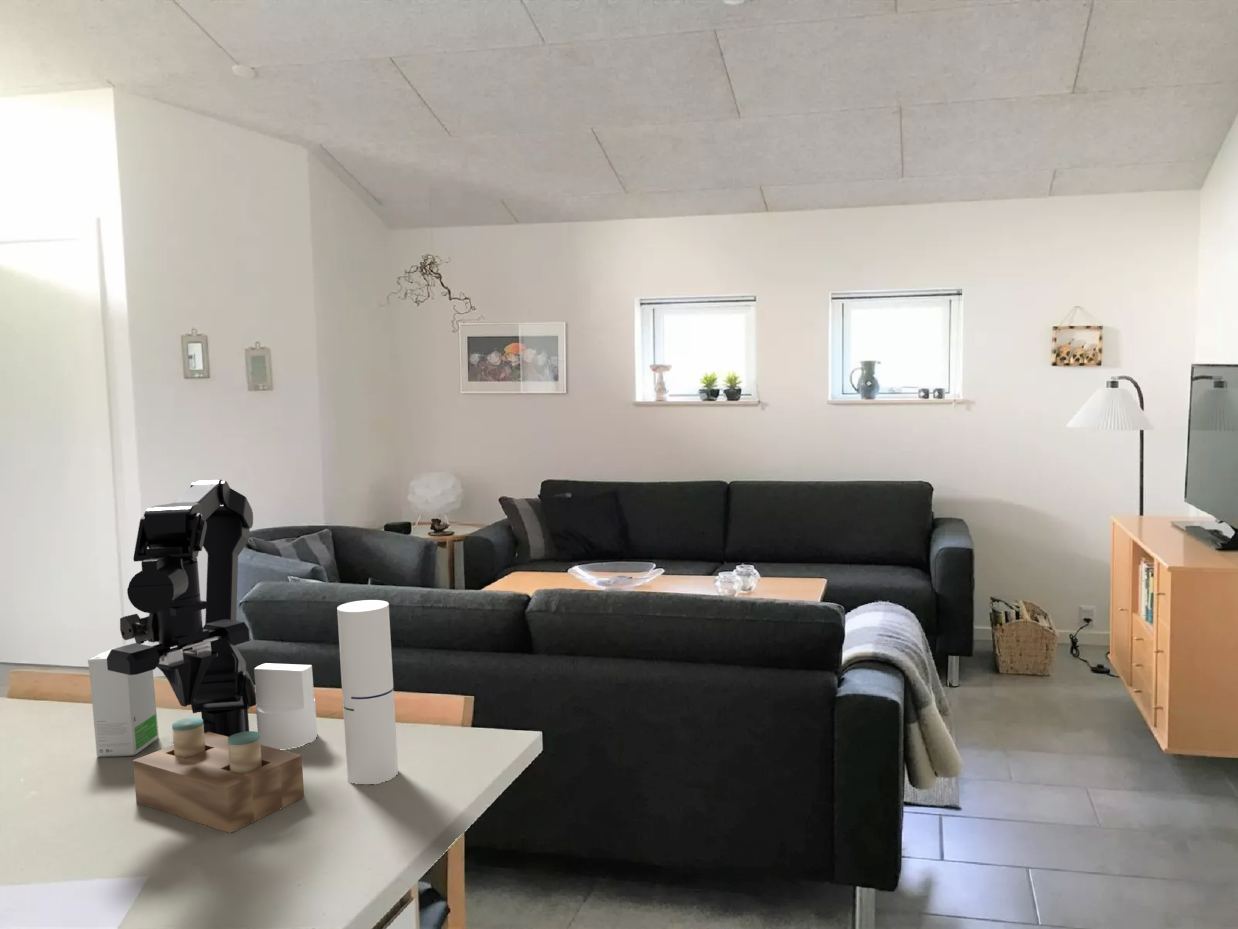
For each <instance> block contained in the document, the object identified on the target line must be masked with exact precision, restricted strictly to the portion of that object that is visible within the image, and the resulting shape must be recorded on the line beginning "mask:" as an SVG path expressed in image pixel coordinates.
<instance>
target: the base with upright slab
mask: <svg viewBox="0 0 1238 929" xmlns="http://www.w3.org/2000/svg"><path fill="white" fill-rule="evenodd" d="M253 670H254V683H255V684H254V686H255V693H256V705H255V712H256V713H255V714H256V724H257V732H258V733H259V734H260V745H263V746H267V747H271V748H275V749H279V750H280V749H288V748H292V747H298V746H300V745H303V744H307V743H309V742H310V741H313V740H314V739H315V738H316V737H317V738H318V736H317V734H318V722H317V710H316V699H315V694H314V692H315V691H314V690H315V689H314V678H313V666H312V664H297V663H296V664H295V663H294V664H293V663H292V664H291V663H270V662H269V663H268V662H265V663H262V664H260V665H257V666H256V667H255V668H253ZM315 740H316V739H315ZM315 740H314V741H315ZM314 741H313V742H314ZM307 745H308V744H307Z"/></svg>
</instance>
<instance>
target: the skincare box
mask: <svg viewBox="0 0 1238 929" xmlns="http://www.w3.org/2000/svg"><path fill="white" fill-rule="evenodd" d="M115 648H118V646H117V647H116V646H115V647H113V648H111V649H115ZM111 649H108V650H107V651H104V652H103V651H102V652H100V653H98V654H97V655H96V656H93V657H91V658H89V659H87V664H88V673H89V674H88V675H89V682H90V683H89V684H90V693H91V694H90V696H91V703H92V705H91V706H92V716H93V717H92V718H93V728H94V729H93V730H94V736H95V750H96V757H100V758H101V757H129V756H136V755H138V754H139V752H141V751H143V750H144V749H145V748H147V747H149V745H151V744H152V743H155V741H157V740H158V739H159V737H160V736H159V735H160V734H159V727H158V723H159V722H158V714H157V713H158V712H157V705H156V704H157V702H156V693H155V692H156V691H155V680H154V670H151V671H147V672H144V673H140V674H137V675H127V674H123V673H118V672H114V671H109V670H108V668H107V657H108V655H109V653H110V651H111Z"/></svg>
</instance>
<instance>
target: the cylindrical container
mask: <svg viewBox="0 0 1238 929" xmlns="http://www.w3.org/2000/svg"><path fill="white" fill-rule="evenodd" d="M336 609H337V611H336V613H337V626H338V628H337V630H338V642H339V643H338V644H339V645H338V646H339V660H340V677H341V678H340V679H341V695H342V705H343V706H342V710H343V712H342V713H343V724H344V726H343V728H344V738H345V739H344V740H345V758H346V771H347V772H346V774H347V775H346V776H347V780H349V781H351V782H353V783H357V784H374V785H378V784H383V783H386V782H385V781H387V782H389V781H391V780H393V779H394V778H396V777H397V776H396V775H399V763H398V745H397V727H396V709H395V707H396V706H395V694H394V693H395V692H394V675H393V658H392V657H393V656H392V655H393V654H392V640H391V624H390V623H391V621H390V603H389V602H388V601H385V600H379V599H364V600H363V599H362V600H355V601H350V602H345V603H342V604H339V605H338V606H337V608H336ZM392 778H393V779H392ZM349 781H348V782H349ZM351 782H350V783H351ZM382 782H383V783H382ZM353 783H352V784H353ZM357 784H356V785H357Z"/></svg>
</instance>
